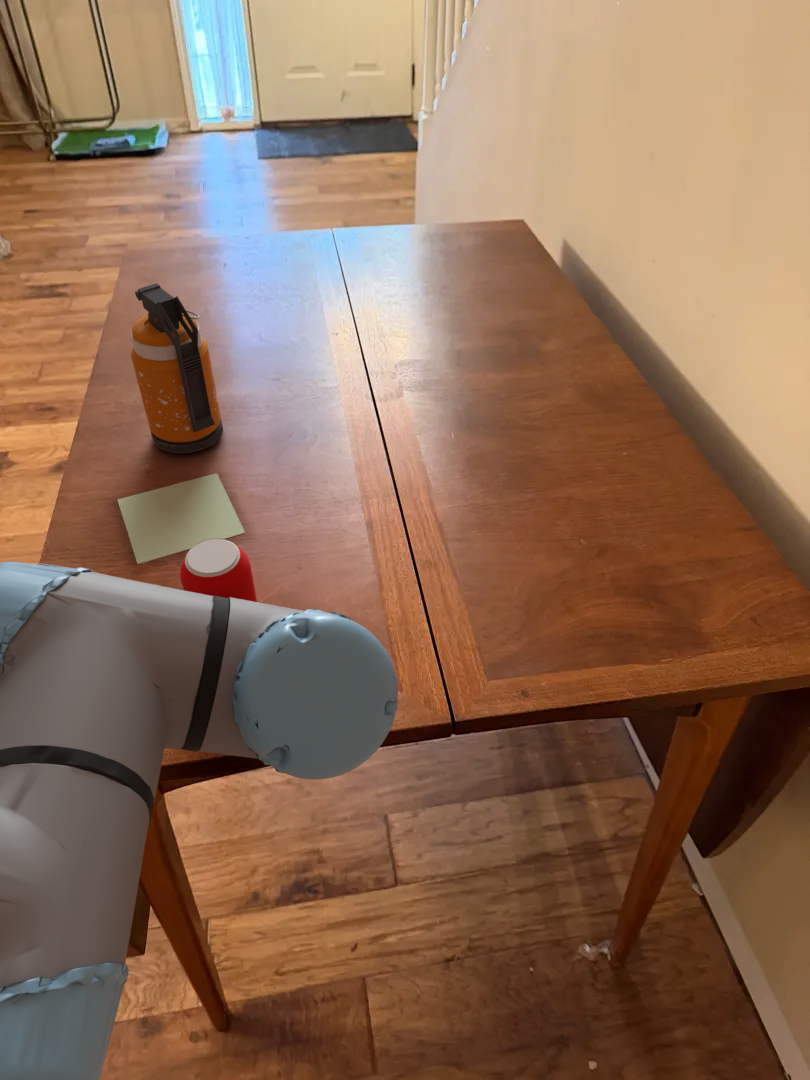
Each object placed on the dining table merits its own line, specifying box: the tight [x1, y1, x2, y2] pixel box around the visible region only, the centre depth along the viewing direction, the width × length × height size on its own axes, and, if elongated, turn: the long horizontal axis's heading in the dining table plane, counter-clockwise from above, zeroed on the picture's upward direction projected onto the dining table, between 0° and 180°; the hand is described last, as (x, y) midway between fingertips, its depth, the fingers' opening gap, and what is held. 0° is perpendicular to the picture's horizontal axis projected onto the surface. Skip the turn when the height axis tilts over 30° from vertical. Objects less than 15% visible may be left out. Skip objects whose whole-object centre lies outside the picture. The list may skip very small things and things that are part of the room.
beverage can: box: [179, 538, 258, 602], centre depth 72 cm, size 6×6×12 cm
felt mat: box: [116, 472, 246, 565], centre depth 90 cm, size 12×12×1 cm
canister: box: [130, 283, 224, 454], centre depth 94 cm, size 9×11×20 cm
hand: (240, 651), depth 71 cm, fingers closed
